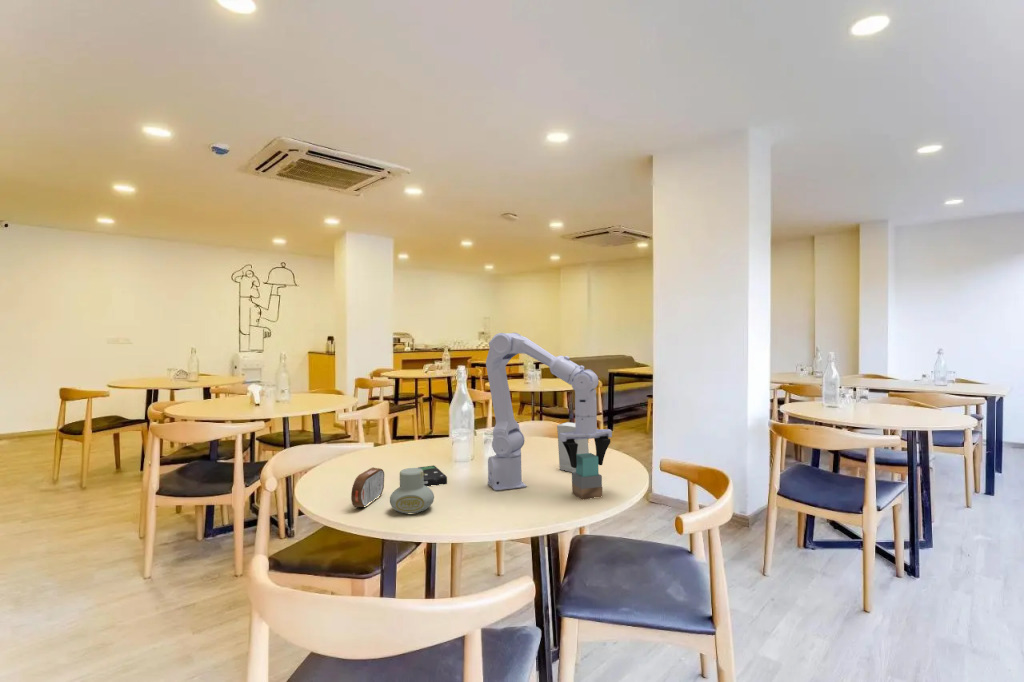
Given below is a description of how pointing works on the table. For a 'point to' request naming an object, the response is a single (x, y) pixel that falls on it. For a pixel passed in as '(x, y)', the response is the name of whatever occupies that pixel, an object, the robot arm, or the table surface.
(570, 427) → the skincare box
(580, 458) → the teal block
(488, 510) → the table surface
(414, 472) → the air freshener
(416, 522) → the table surface
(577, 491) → the tower bottom
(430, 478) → the disk drive
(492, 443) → the robot arm
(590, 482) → the tower top
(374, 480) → the tin
